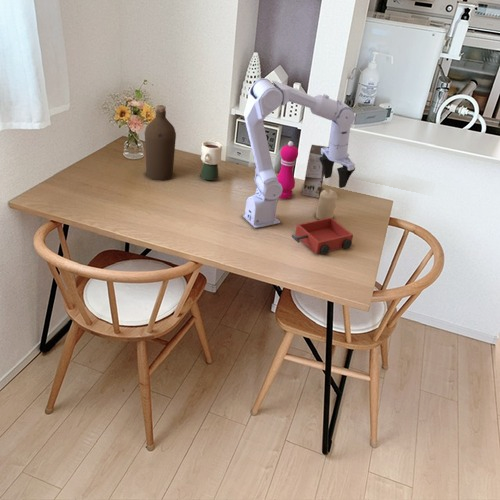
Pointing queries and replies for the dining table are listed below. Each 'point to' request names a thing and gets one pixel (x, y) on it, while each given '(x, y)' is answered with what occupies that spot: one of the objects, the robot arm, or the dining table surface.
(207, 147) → the character mug
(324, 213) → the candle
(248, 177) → the dining table surface
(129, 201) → the dining table surface
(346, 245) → the cart wheels
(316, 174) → the coffee box
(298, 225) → the cart
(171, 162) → the olive oil
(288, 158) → the pepper mill
